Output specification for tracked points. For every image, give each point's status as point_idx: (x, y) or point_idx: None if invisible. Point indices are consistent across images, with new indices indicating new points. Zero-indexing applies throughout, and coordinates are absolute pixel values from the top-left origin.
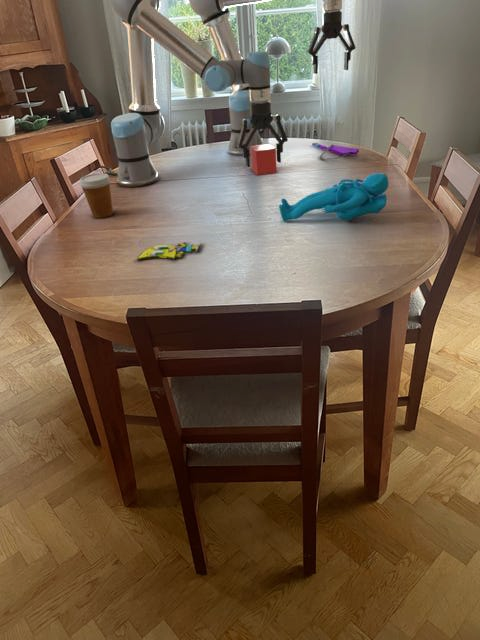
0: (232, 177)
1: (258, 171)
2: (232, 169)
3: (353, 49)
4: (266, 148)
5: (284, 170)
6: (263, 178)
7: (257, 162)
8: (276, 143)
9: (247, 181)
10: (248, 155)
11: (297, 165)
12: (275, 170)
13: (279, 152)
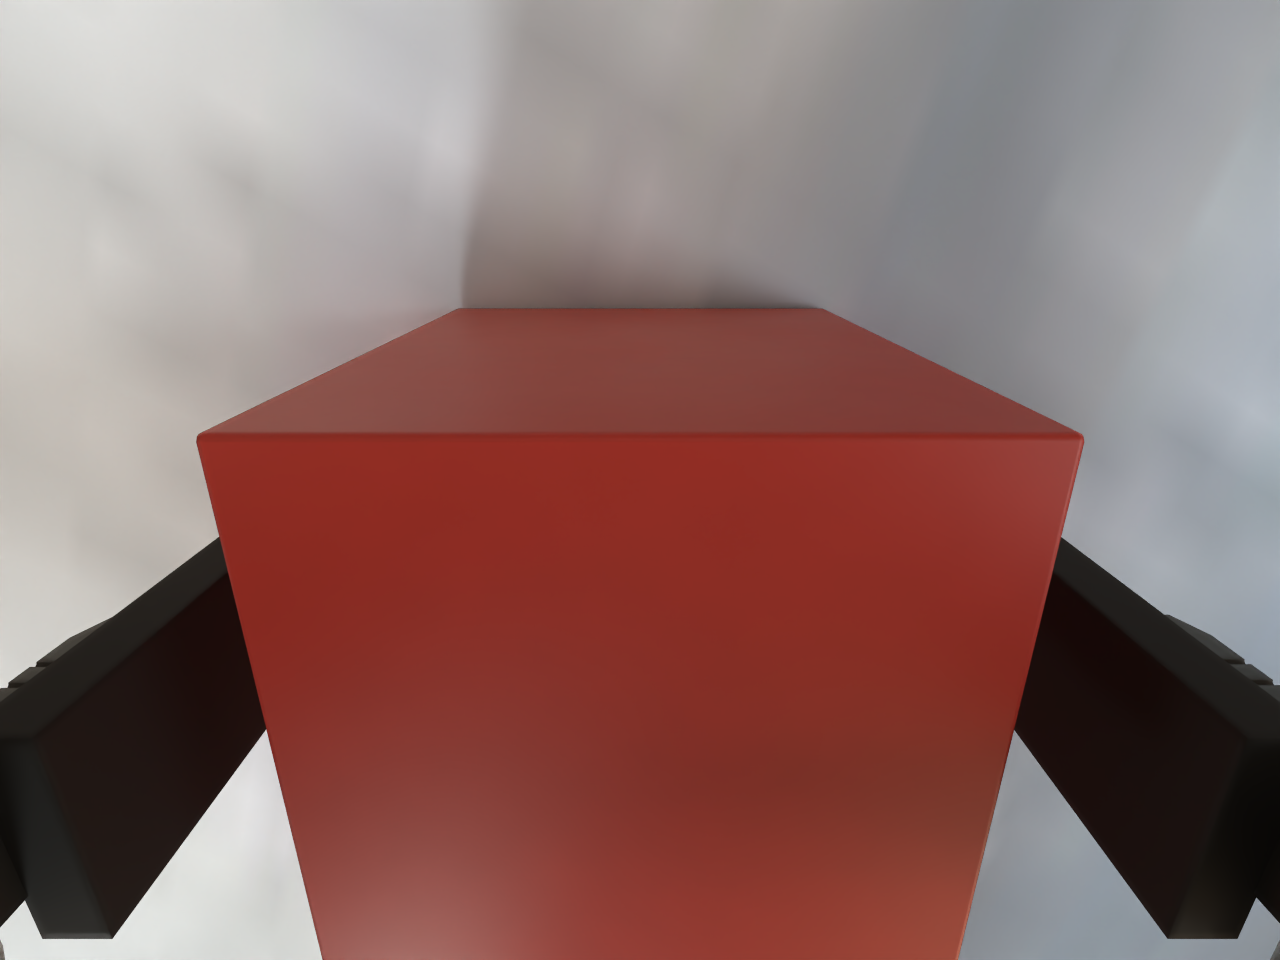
0: (1231, 415)
1: (817, 316)
2: (1022, 786)
3: None
4: (561, 615)
5: (298, 365)
6: (793, 46)
7: (886, 350)
8: (101, 923)
9: (1146, 4)
10: (1122, 609)
11: (45, 531)
12: (468, 313)
13: (183, 585)
